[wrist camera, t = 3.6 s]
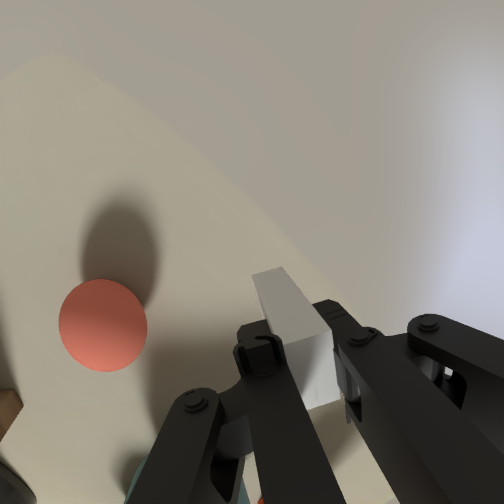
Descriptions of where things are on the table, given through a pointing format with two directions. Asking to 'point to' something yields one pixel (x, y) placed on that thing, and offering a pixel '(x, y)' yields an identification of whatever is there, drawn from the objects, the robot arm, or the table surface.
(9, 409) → the bridge
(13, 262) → the table surface
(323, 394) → the robot arm
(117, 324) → the ball
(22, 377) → the table surface
